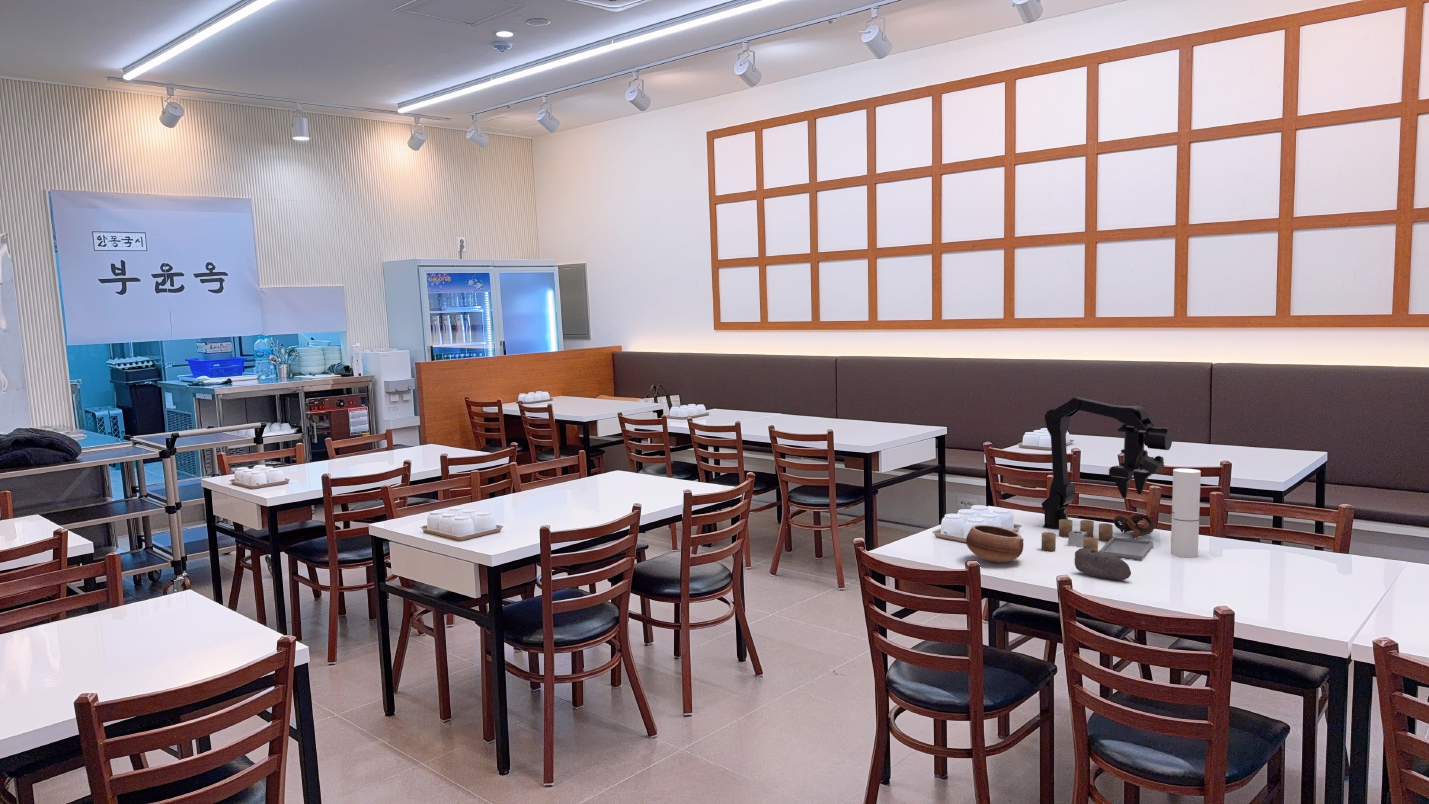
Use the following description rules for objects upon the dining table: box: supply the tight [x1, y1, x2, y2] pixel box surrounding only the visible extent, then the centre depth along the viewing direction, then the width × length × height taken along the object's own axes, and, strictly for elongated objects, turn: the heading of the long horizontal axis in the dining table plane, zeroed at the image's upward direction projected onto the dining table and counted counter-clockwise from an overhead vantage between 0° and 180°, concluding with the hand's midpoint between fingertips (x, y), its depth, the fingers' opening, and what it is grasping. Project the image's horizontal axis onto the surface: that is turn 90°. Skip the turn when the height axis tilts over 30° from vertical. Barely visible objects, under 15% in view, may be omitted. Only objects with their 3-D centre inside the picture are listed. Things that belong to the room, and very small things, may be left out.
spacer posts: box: [1041, 518, 1114, 553], centre depth 285 cm, size 16×26×5 cm, turn 146°
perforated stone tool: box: [1074, 547, 1132, 581], centre depth 250 cm, size 15×5×7 cm, turn 39°
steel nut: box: [1067, 529, 1087, 548], centre depth 284 cm, size 4×4×4 cm
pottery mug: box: [1113, 512, 1155, 540], centre depth 295 cm, size 12×10×8 cm
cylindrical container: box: [1170, 467, 1202, 559], centre depth 270 cm, size 7×7×25 cm
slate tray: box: [1098, 536, 1155, 562], centre depth 277 cm, size 12×20×2 cm, turn 146°
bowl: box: [965, 524, 1024, 564], centre depth 268 cm, size 16×16×10 cm
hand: (1132, 496), depth 290 cm, fingers open, 9 cm apart
